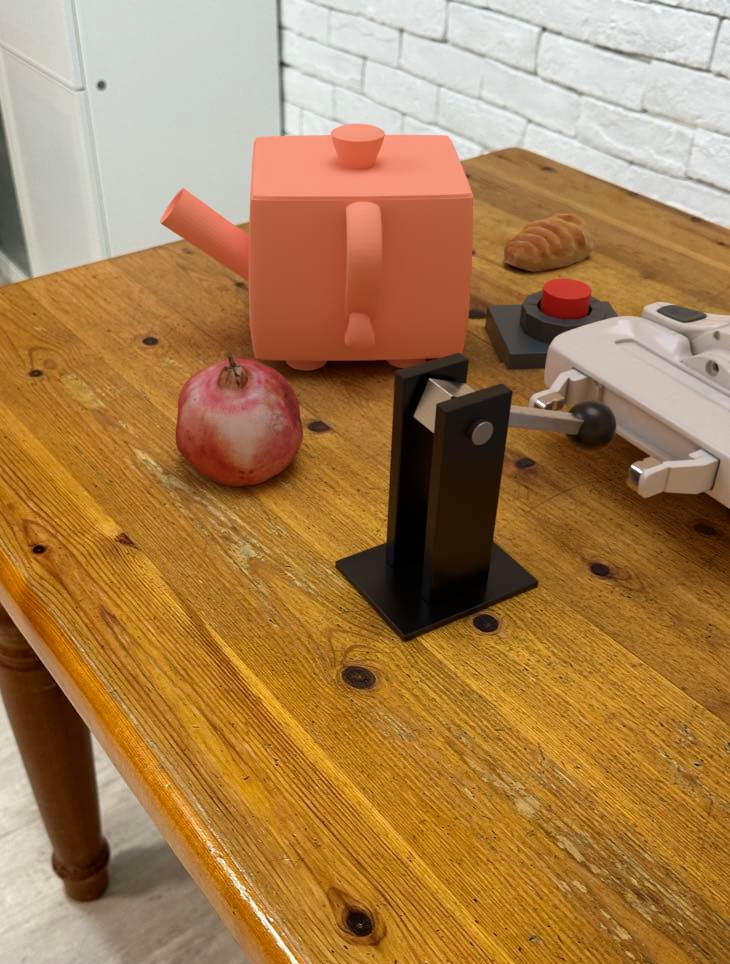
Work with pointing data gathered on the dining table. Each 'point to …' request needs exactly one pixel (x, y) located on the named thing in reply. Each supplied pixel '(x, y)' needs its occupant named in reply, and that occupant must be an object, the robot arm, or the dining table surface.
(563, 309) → the red push button
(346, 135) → the teapot
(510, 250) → the pastry
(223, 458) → the fruit
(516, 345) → the button box
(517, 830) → the dining table surface
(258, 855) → the dining table surface
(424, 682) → the dining table surface
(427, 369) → the bracket
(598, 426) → the tap lever
